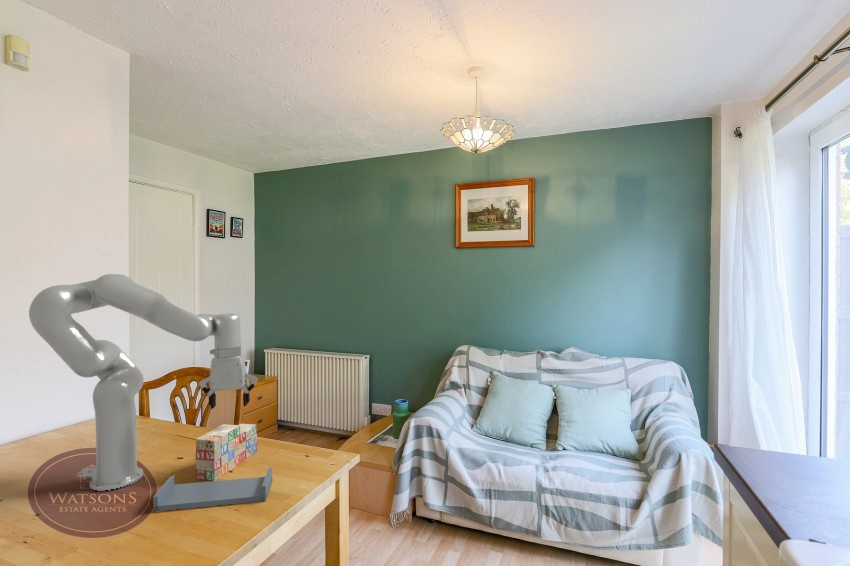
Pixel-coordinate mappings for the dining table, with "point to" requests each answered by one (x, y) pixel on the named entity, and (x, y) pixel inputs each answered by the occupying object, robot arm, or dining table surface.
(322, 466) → the dining table surface
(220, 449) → the stack of blocks
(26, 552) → the dining table surface
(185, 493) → the board
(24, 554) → the dining table surface
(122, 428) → the robot arm
